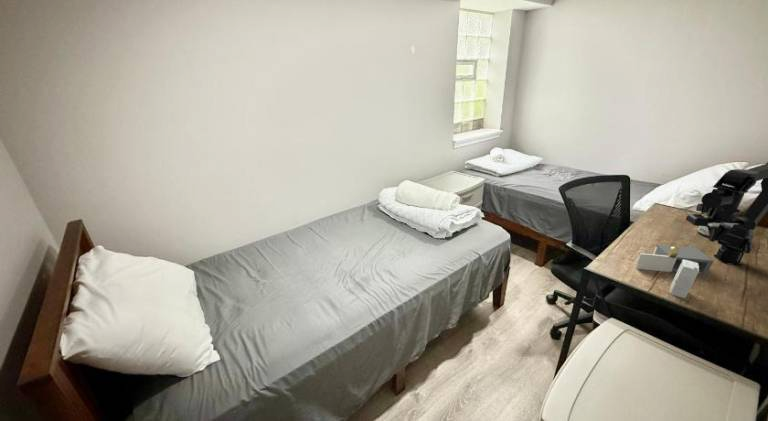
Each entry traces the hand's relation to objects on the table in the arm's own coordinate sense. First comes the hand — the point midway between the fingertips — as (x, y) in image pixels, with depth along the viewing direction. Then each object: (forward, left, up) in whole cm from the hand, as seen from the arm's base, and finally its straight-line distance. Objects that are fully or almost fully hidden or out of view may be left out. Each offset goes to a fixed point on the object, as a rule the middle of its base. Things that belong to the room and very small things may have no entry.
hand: (711, 241), depth 122 cm
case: (+8, +1, -12) cm, 14 cm away
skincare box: (+18, +21, -12) cm, 30 cm away
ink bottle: (-22, -33, -12) cm, 42 cm away
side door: (+19, +7, -12) cm, 24 cm away
